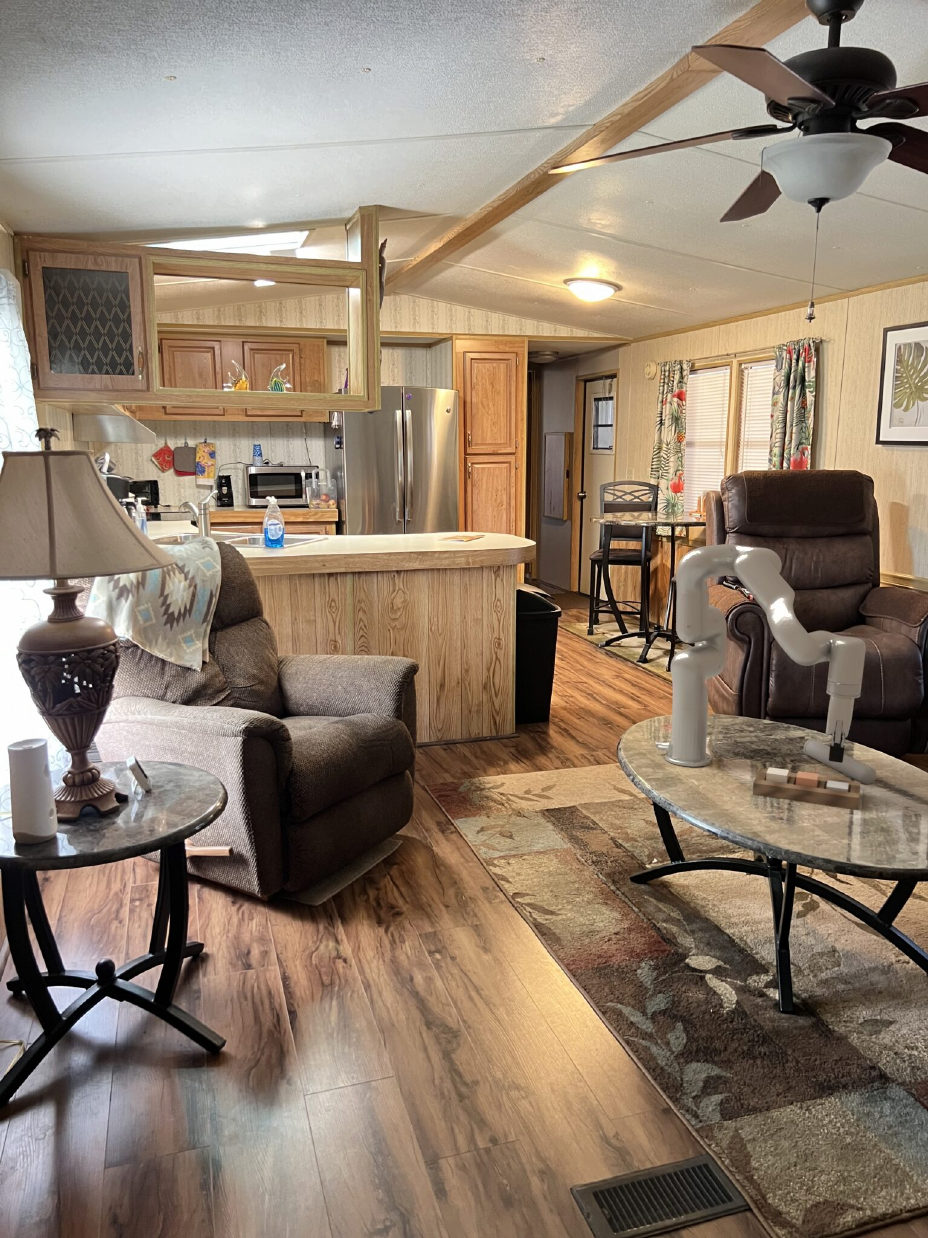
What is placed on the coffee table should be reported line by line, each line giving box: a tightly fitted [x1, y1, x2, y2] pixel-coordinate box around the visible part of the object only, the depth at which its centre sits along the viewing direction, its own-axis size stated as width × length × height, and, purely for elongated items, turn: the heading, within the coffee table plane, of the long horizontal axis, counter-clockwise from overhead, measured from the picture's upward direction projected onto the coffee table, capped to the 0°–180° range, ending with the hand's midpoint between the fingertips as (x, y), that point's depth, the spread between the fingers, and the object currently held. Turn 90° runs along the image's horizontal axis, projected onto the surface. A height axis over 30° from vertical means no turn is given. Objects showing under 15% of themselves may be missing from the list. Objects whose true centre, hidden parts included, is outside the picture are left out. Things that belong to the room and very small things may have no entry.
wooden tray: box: [752, 768, 862, 811], centre depth 221 cm, size 24×12×3 cm, turn 65°
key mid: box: [796, 770, 820, 788], centre depth 221 cm, size 5×5×3 cm
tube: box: [803, 738, 877, 785], centre depth 239 cm, size 5×5×25 cm
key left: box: [766, 766, 790, 784], centre depth 224 cm, size 5×5×3 cm
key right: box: [826, 780, 849, 792], centre depth 218 cm, size 5×5×3 cm
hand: (835, 760), depth 218 cm, fingers closed
